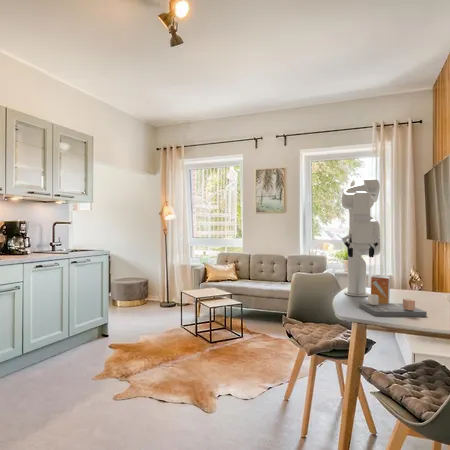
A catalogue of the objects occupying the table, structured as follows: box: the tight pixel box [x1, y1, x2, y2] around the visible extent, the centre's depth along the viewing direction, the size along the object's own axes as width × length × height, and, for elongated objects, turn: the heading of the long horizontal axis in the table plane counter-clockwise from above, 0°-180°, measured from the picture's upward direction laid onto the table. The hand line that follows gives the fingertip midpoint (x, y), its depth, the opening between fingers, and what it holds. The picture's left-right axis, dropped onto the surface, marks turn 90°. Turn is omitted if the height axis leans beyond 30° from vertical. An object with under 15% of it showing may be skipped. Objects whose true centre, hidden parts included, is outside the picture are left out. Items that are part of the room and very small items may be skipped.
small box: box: [370, 275, 391, 303], centre depth 176 cm, size 8×6×13 cm
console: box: [358, 302, 428, 317], centre depth 157 cm, size 16×22×2 cm
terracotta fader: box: [402, 298, 416, 310], centre depth 152 cm, size 4×3×4 cm
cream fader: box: [367, 293, 378, 305], centre depth 162 cm, size 4×3×4 cm
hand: (360, 257), depth 160 cm, fingers open, 9 cm apart
